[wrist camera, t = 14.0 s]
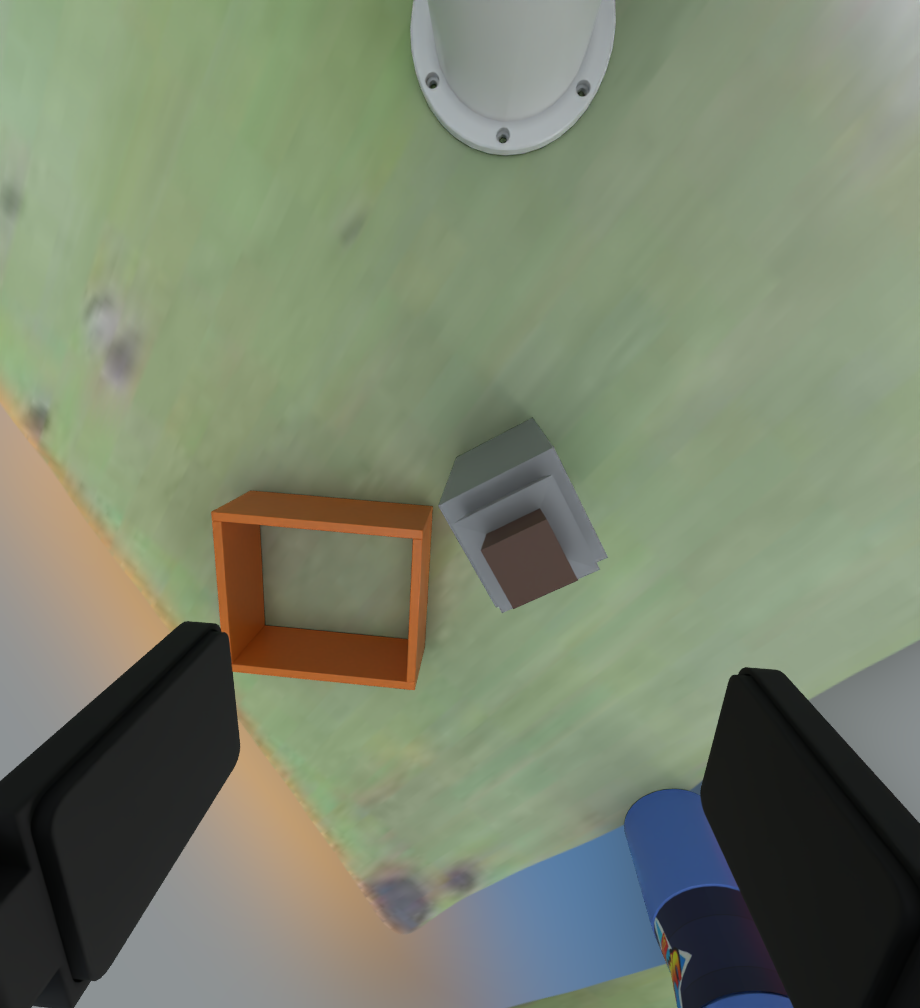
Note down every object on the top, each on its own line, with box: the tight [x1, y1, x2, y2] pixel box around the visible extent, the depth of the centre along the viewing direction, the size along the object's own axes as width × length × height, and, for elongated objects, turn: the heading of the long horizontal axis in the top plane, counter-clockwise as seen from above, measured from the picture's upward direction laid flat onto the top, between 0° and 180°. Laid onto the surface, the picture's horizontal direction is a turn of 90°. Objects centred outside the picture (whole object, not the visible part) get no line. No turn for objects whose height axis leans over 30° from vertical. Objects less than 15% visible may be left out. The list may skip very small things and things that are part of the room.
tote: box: [211, 491, 433, 690], centre depth 40 cm, size 13×15×6 cm
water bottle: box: [624, 789, 793, 1008], centre depth 36 cm, size 9×9×25 cm
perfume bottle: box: [438, 418, 608, 613], centre depth 30 cm, size 7×7×18 cm
